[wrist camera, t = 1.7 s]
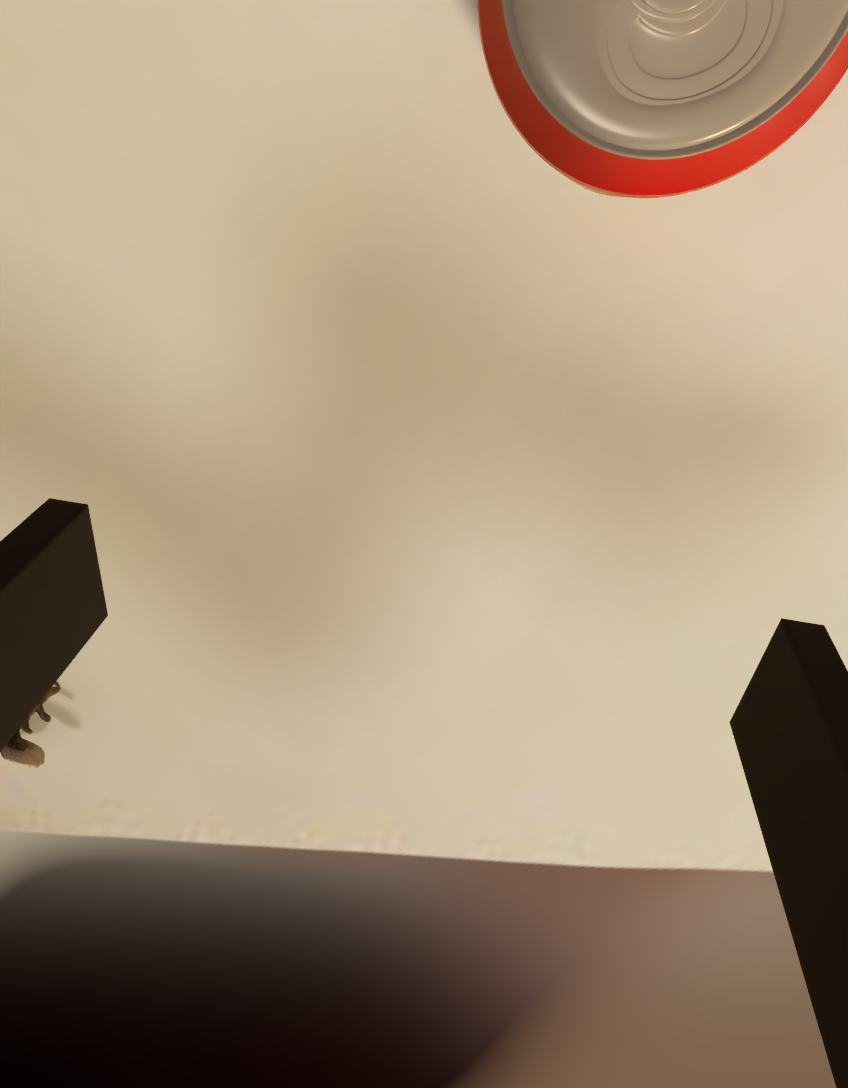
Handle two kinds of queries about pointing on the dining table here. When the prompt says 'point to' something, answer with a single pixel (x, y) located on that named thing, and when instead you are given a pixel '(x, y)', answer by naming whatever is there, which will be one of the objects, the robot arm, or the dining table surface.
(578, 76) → the soda can
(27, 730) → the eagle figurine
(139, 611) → the dining table surface
